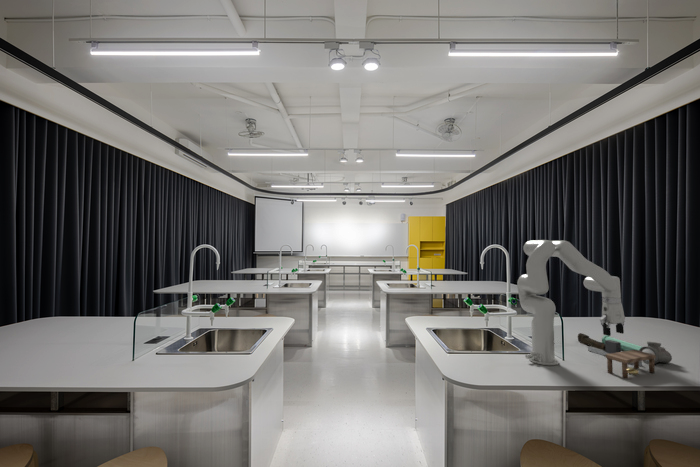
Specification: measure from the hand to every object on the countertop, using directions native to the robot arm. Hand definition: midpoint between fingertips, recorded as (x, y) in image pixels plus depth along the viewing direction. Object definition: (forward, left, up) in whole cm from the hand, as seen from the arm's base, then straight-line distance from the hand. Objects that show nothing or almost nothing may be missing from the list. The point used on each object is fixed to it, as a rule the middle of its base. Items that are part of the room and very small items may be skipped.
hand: (613, 334), depth 166 cm
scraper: (-1, 0, -12) cm, 12 cm away
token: (-15, -16, -12) cm, 25 cm away
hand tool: (+7, +16, -12) cm, 22 cm away
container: (+17, +4, -12) cm, 22 cm away
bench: (-15, -16, -12) cm, 25 cm away
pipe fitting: (+11, -12, -12) cm, 20 cm away
